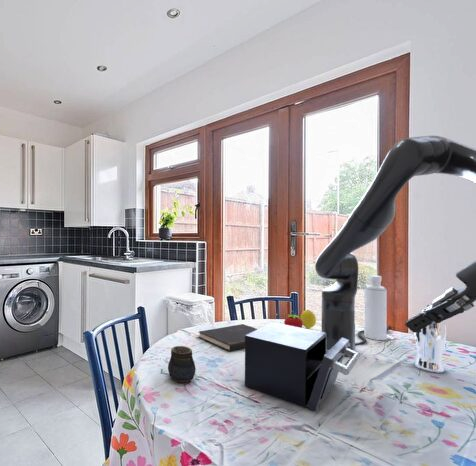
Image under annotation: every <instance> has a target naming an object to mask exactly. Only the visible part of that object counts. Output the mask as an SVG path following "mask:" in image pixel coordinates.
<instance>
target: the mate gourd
mask: <svg viewBox="0 0 476 466" xmlns="http://www.w3.org/2000/svg"><path fill="white" fill-rule="evenodd" d="M196 371H197V367H196V363H195V361H194V358H193V350H192V349H191V348H190V347H188V346H184V345H175V346H173V347H172V348H171V349H170V358H169V362H168V365H167V372H168V375H169V377H170V378H171V379H172V380H173V381H175V382H177V383H181V384H185V383H189V382H190V381H191V382H192V380H193V379H194V377H195V375H196Z"/></svg>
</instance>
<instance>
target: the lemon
mask: <svg viewBox="0 0 476 466" xmlns="http://www.w3.org/2000/svg"><path fill="white" fill-rule="evenodd" d="M299 318H300V319H301V320H302V321H303V325H302V327H304V328H305V329H311V328H313V327H315V325H316V324H317V323H316V322H317V318H316V314H315V313H314V312H313V311H312V310H310V309H306V310H303V311H302V312H301V314H300V317H299Z"/></svg>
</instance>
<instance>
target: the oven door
mask: <svg viewBox="0 0 476 466" xmlns="http://www.w3.org/2000/svg"><path fill="white" fill-rule="evenodd" d="M348 343H349V340H347V339H345V338H343V337H342V338H341V339H340V340H339V341H338V342H337V343H336V344H335V345H334V346H333V347H332V348H331V349H330V350H329V351H328V352H326V354H325V355H324V356H323V360H322V363H321V366H320V369H319V372H318V375H317V378H316V381H315V384H314V387H313V390H312V393H311V396H310V399H309V402H308V405H307V406H306V408H308V409H310V410H312V411H314V412H316V410H317V409H318V407H319V406H320V405H321V403H323V401H324V400H325V398H326V396H327V395H328V394H329V392H330V391H331V390H332V388H333V387H334V386H335V384H336V381H337V378H338V375H339V372H340V373H341V374H342V375H344V376H348V375H349V374H350V372H351V371H352V370H353V368H354V367H355V365H356V364H357V362H358V361H359V359H360V358H361V352H358V351H356V350H355V351H353V350H351V349H348V348H347V346H348ZM344 355H347V356H346V357H349V358H348V360H347V361H346V362H345V364H343V360H344V358H345V356H344Z"/></svg>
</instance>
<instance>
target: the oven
mask: <svg viewBox="0 0 476 466" xmlns="http://www.w3.org/2000/svg"><path fill="white" fill-rule="evenodd" d="M256 329H257V330H255V331H253V332H251V333H249V334H247V335H245V348H244V387H246V388H249V389H251V390H254V391H256V392H260V393H262V394H265V395H268V396H271V397H274V398H277V399H279V400H282V401H285V402H288V403H290V404H294V405H296V406H298V407H302V408H305V409H306V408H307V405H308V402H309V399H310V396H311V393H312V390H313V387H314V384H315V381H316V378H317V375H318V372H319V369H320V366H321V363H322V360H323V356H324V355H325V354H326V353H327V352H326V333H325V332H322V331H319V330H314V329H311V328H309V329H307V328H306V327H304V328H303V327H302V328H299V327H294V326H289V325H285V324H284V323H279V322H274V321H271V322H269V323H268V324H265V325H263V326H261V327H258V328H256Z"/></svg>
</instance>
